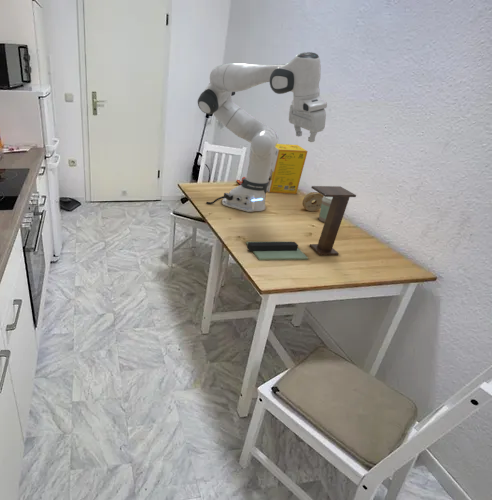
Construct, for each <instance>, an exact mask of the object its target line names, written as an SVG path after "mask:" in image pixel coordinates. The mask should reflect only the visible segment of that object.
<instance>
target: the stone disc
mask: <svg viewBox="0 0 492 500" xmlns="http://www.w3.org/2000/svg"><path fill="white" fill-rule="evenodd" d="M323 197H324V196H323V195H322V194H320V193H319V192H317V191H311V192H308V193H307V194H306V195H305V196H304V198H303V199H302V207H303V208H304V209H305V210H306V211H309V212H317V211H319V210H321V205H322V198H323Z"/></svg>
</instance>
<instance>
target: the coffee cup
mask: <svg viewBox="0 0 492 500" xmlns="http://www.w3.org/2000/svg"><path fill="white" fill-rule="evenodd" d="M332 198H333V197H325V196H324V197H323V198H322V205H321V208H320V209H319V210H320V211H319V216H318V220H319V221H320V222H321V223H322V222H323V223H325V220H326V217H327V214H328V211H329V208H330V204H331V201H332Z"/></svg>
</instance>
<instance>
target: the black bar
mask: <svg viewBox="0 0 492 500" xmlns="http://www.w3.org/2000/svg"><path fill="white" fill-rule="evenodd" d="M247 242H248V245H247V244H246V248H247V250H248V251H249V252H252V251H297V248H299V244H298V243H297V242H295V241H247Z"/></svg>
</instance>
